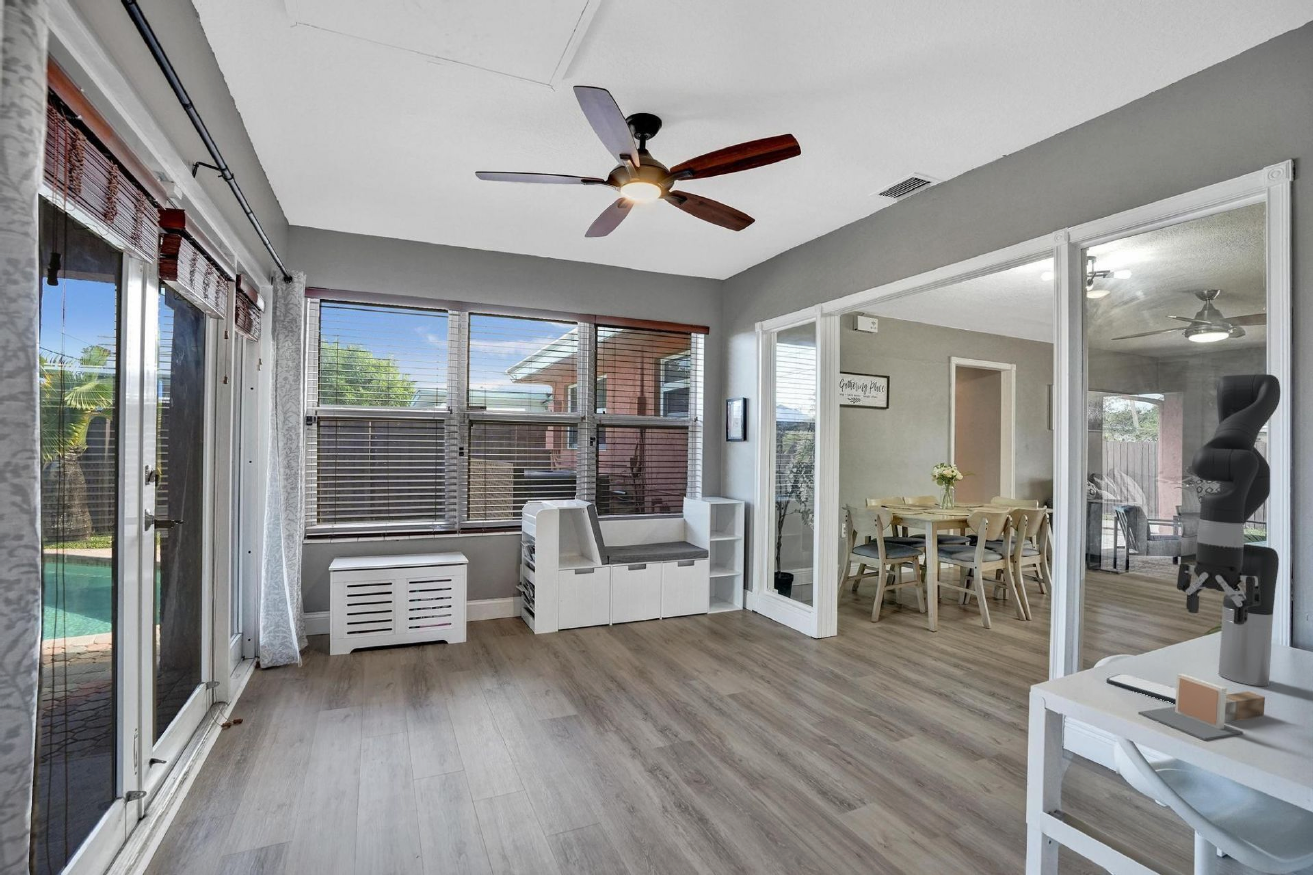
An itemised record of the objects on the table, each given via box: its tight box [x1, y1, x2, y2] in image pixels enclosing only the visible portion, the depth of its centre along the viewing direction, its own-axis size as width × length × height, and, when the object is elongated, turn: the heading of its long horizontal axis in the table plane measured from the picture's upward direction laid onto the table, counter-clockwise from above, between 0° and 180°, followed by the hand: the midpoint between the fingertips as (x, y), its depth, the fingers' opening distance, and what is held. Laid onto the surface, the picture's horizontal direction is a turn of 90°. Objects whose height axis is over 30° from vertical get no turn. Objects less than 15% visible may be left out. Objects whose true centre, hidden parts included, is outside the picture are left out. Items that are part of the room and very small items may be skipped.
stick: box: [1224, 691, 1266, 723], centre depth 138 cm, size 14×3×4 cm, turn 111°
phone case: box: [1106, 673, 1176, 705], centre depth 149 cm, size 9×2×16 cm
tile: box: [1174, 673, 1227, 729], centre depth 133 cm, size 2×8×8 cm, turn 21°
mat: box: [1138, 706, 1244, 742], centre depth 132 cm, size 12×12×1 cm
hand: (1215, 618), depth 139 cm, fingers open, 8 cm apart
